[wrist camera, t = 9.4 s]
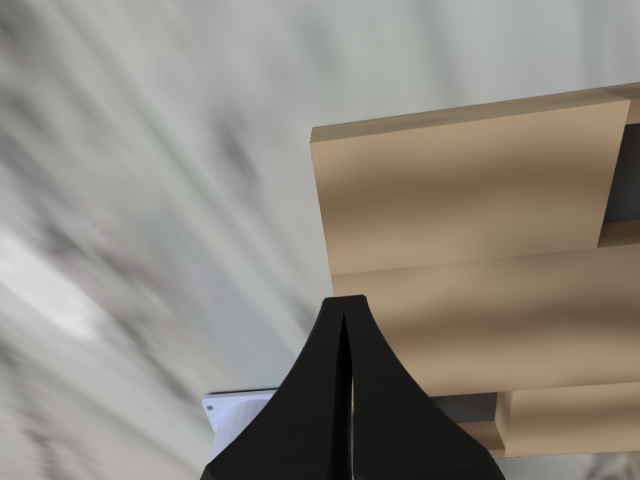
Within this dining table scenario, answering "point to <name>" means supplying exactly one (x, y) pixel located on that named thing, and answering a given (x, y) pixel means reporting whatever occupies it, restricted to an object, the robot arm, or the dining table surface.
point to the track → (500, 260)
